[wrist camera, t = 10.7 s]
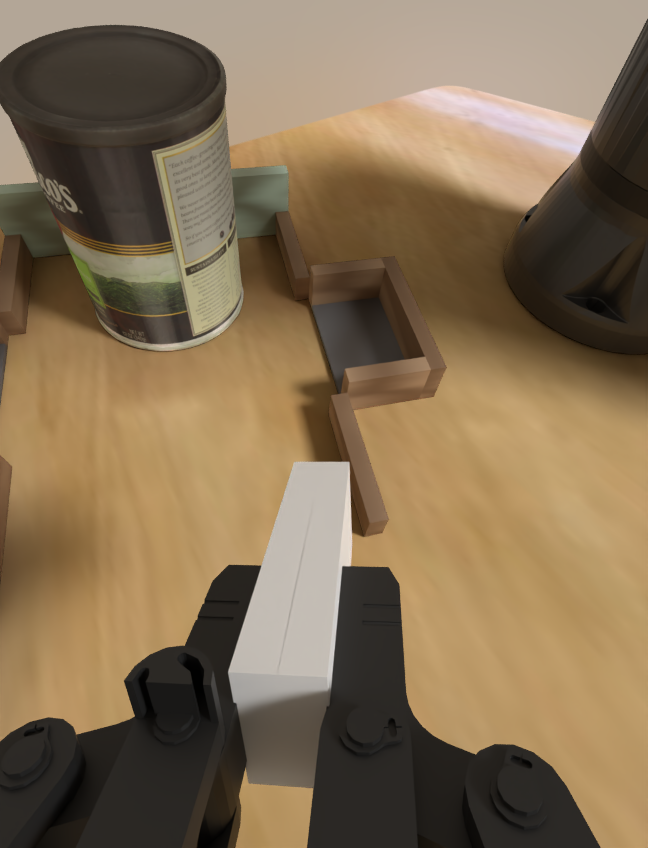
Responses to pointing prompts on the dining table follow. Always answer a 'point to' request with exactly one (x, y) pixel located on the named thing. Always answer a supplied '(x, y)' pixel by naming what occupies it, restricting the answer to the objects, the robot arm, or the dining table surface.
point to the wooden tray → (325, 288)
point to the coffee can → (134, 175)
